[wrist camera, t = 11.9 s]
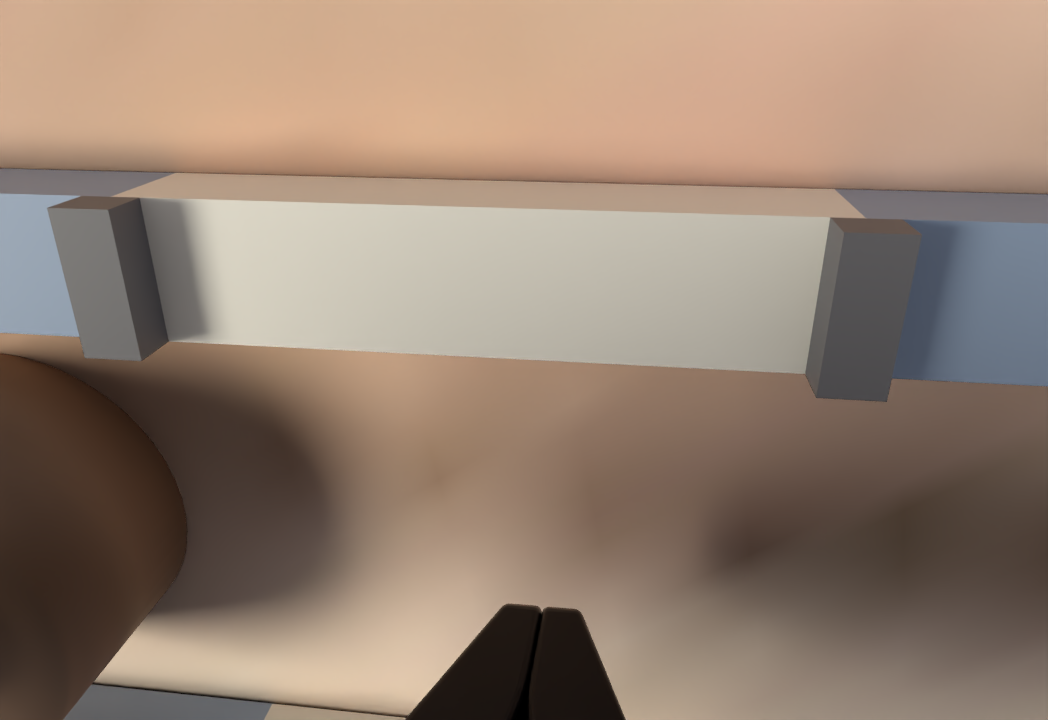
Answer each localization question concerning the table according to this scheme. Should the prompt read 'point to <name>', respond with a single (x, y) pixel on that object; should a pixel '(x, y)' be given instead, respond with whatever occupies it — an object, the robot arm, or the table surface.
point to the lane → (526, 287)
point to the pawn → (75, 536)
